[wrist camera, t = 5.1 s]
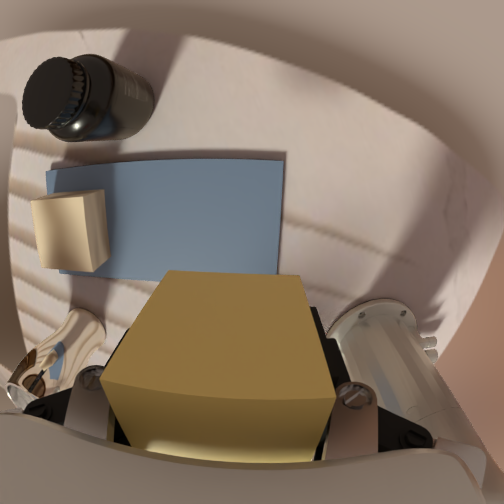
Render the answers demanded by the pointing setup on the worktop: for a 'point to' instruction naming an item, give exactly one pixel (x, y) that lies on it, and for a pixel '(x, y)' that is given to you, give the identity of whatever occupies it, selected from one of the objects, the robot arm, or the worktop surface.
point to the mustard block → (223, 370)
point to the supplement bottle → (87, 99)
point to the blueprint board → (183, 215)
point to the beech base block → (71, 230)
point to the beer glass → (56, 359)
